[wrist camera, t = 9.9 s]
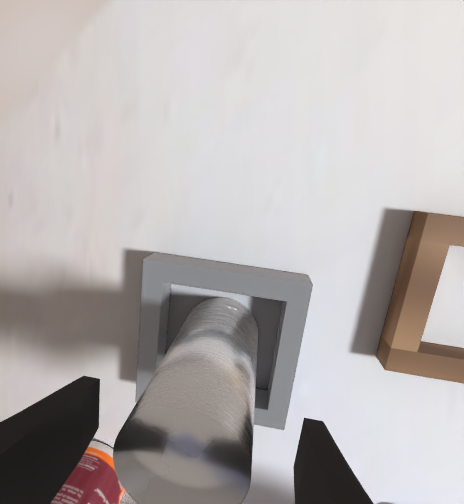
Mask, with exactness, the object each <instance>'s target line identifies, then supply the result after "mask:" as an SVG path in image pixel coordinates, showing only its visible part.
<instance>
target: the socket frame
mask: <svg viewBox="0 0 464 504" xmlns="http://www.w3.org/2000/svg"><path fill="white" fill-rule="evenodd" d="M449 245H455V246H462V247H464V217H458V216H451V215H443V214H435V213H427V212H419V211H414V214H413V218H412V222H411V226H410V229H409V233H408V237H407V241H406V245H405V248H404V252H403V256H402V260H401V263H400V267H399V271H398V275H397V278H396V282H395V286H394V290H393V293H392V297H391V301H390V305H389V308H388V312H387V316H386V320H385V324H384V327H383V331H382V335H381V339H380V342H379V346H378V350H377V354H376V357H377V359H378V360H379V362H380V363H381V365H382V366H383V368H384V369H385V370H388V371H394V372H400V373H406V374H412V375H417V376H423V377H429V378H435V379H441V380H447V381H453V382H458V383H464V349H463V348H456V347H450V346H444V345H438V344H432V343H426V342H420V341H421V338H422V335H423V332H424V328H425V325H426V322H427V318H428V315H429V312H430V308H431V305H432V302H433V298H434V295H435V292H436V288H437V285H438V282H439V278H440V275H441V272H442V268H443V265H444V262H445V259H446V255H447V252H448V249H449Z"/></svg>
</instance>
